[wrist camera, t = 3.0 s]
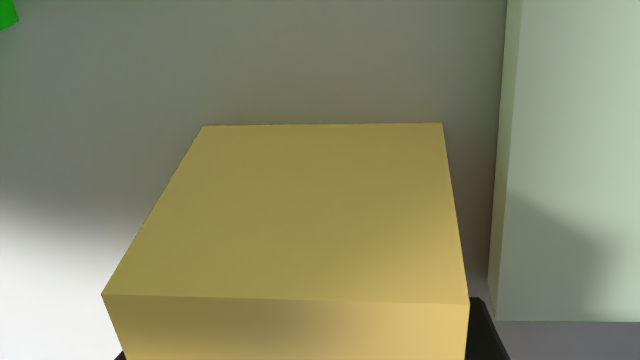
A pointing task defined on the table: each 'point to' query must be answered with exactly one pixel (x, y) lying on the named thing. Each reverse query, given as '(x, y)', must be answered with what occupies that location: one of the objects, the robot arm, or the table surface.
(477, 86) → the table surface
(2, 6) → the puzzle toy
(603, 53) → the baseplate
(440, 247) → the ochre brick
